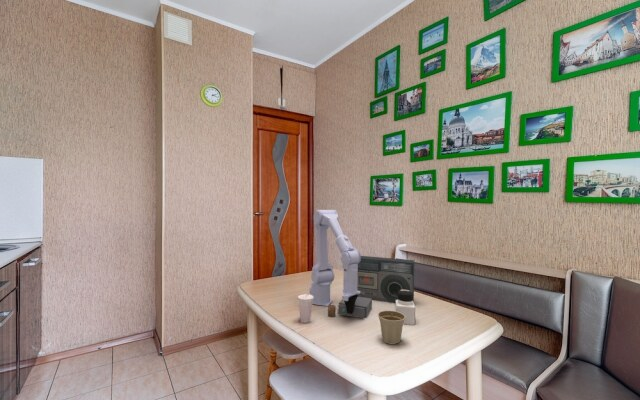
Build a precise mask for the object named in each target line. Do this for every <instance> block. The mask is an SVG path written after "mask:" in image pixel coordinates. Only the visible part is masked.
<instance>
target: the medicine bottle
mask: <svg viewBox="0 0 640 400" xmlns="http://www.w3.org/2000/svg"><path fill="white" fill-rule="evenodd" d="M414 302H415V301H414ZM414 302H413V293H412V292H411V291H408V290H400V291H398V298H397V300H396V303H395V310H394V311H397V312H400V313H402V314H404V315H405V320H404V323H403V325H409V326H410V325H411V326H415V325H416V305H415V303H414Z"/></svg>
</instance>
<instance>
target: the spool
mask: <svg viewBox="0 0 640 400" xmlns="http://www.w3.org/2000/svg"><path fill="white" fill-rule="evenodd" d="M336 309H337V308H336V305H335V304H329V305H328V306H327V317H329V318H335V317H336Z"/></svg>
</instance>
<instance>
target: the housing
mask: <svg viewBox="0 0 640 400" xmlns="http://www.w3.org/2000/svg"><path fill="white" fill-rule="evenodd" d="M339 304H341V305H345V302H344V301H343V298H341V300H340V301H339V302H338V305H339ZM354 307H361V308H365V317H364V318H363V319H367V318H368V316H369V314H370V312H371V311H372V309H373V300H372V298H365V297H357V299H356V302H355V306H354Z"/></svg>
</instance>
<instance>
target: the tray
mask: <svg viewBox="0 0 640 400" xmlns="http://www.w3.org/2000/svg"><path fill="white" fill-rule="evenodd" d="M337 307H338V308H337V314H338V315H341V316H348V317H355V318H360V319H361V318H362V319H365V318H364V317H365V308H361V307H354V310H353V313H352V314H349V313H347V310H346V305H341V304H339V303H338V305H337Z"/></svg>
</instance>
